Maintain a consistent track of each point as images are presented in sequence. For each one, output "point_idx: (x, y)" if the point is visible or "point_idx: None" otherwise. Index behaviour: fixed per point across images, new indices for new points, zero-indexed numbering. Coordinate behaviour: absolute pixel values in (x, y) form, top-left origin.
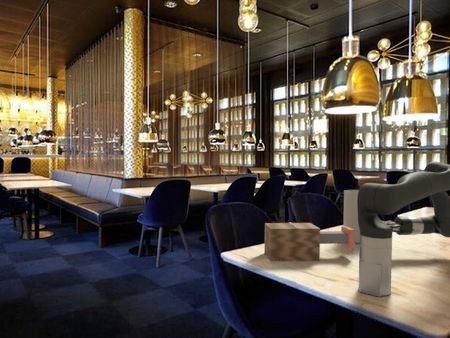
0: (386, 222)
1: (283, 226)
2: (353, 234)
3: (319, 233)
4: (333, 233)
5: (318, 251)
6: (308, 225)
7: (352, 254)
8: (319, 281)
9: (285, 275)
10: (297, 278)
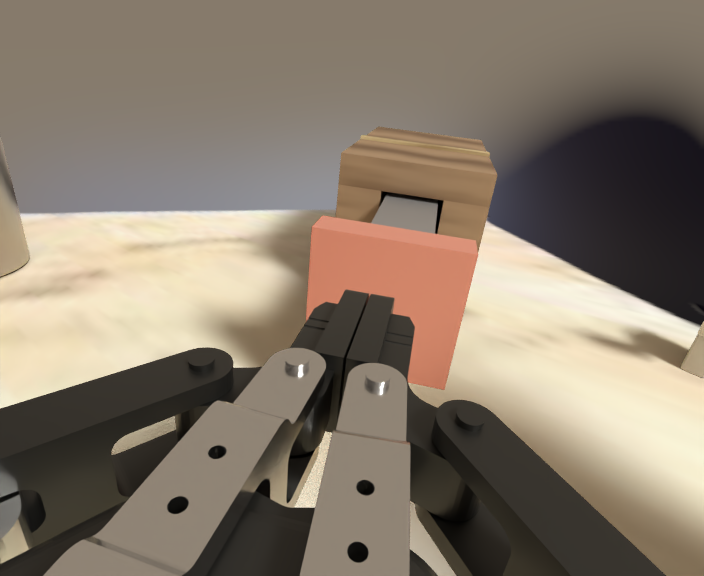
0: (317, 519)
1: (412, 138)
2: (311, 261)
3: (339, 177)
4: (372, 223)
5: None
6: (424, 158)
7: None
8: (154, 231)
9: (242, 215)
10: (208, 219)
